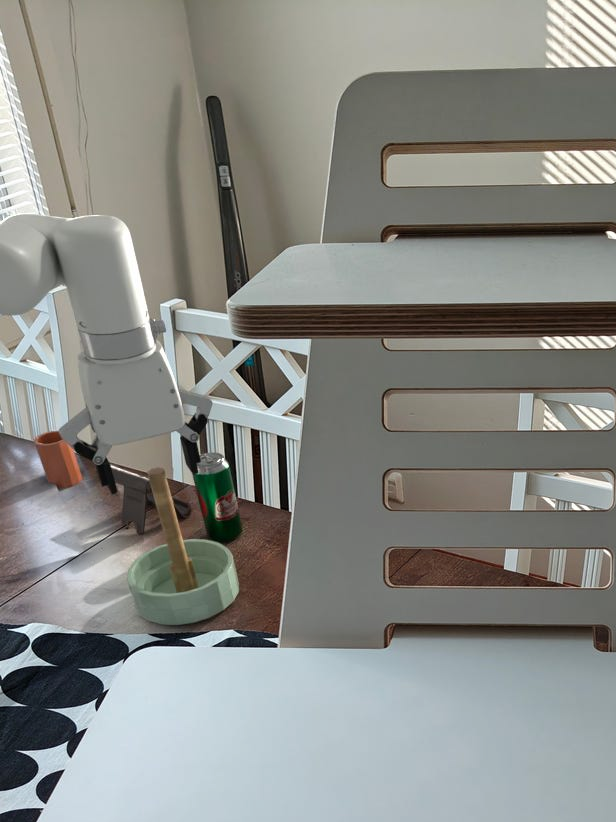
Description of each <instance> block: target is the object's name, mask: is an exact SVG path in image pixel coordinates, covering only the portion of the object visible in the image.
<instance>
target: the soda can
mask: <svg viewBox="0 0 616 822" xmlns="http://www.w3.org/2000/svg"><path fill="white" fill-rule="evenodd" d="M199 455H200V460H201V462H200V463H197V468H198V473H196V474H194V473H192V472H191V475H192V479H193V484H194V488H195V491H196V495H197V499H198V504H199V509H200V512H201V516H202V521H203V524H204V528H205V533H206V536H207V537H208V538H209V540H210V541H214V542H218V543H228V542H231V541H234V540H237V538H239V537H240V535H241V534H242V532H243V529H244V528H243V523H242V519H241V513H240V510H239V505H238V501H237V496H236V491H235V487H234V481H233V478H232V474H231V468H230V463H229V462H228V461H227V459H226V458H225V455H224V454H222V453H220V452H205V453H201V454H199Z"/></svg>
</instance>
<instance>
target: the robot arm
mask: <svg viewBox="0 0 616 822" xmlns="http://www.w3.org/2000/svg"><path fill="white" fill-rule="evenodd" d="M62 285H63V286H65V287H66V290H67V294H68V297H69V301H70V305H71V308H72V313H73V316H74V320H75V324H76V327H77V330H78V334H79V339H80V342H81V345H82V349H83V351H81V352H80V353H79V354H77V365H78V366H77V367H78V374H79V382H80V387H81V392H82V397H83V401H84V406H85V408H83V409H82V410H81V411H79V413H76V415H75V416H73V417H72V418H70V420H68V421H67V422H66V423H65V424H63V425H62V426H61V427H59V429H58V431H59V434H60V436H61V438H62V439H63V440H64V441H65V442H66V443H67V444H68V445H69V446H70V447H72V448H73V450H74V453H75V454H77V455H79V456H81V457H83V458H85V459H87V460H89V461H91V462H93V464H94V466H95V470H96V473H97V476H98V479H99V483H100V485H101V487H106V486H107V487H108V488H107V489H108V490H109V492H110V494H111V495H116V494H117V493H118V492H119V491H118V487H117V483H115V480H114V477H113V473H112V469H111V466H112V465H111V463H110V462H109V460H108V454H109V453H110V451H111V449H112V448H113V446H119V445H124V444H129V443H134V442H138V441H142V440H146V439H150V438H154V437H159V436H163V435H164V436H165V435H167V434H172V433H175V432H177V433H178V434H180V437H179V439H180V444H181V449H182V453H183V457H184V461H185V465H186V467H187V468H188V470H189V471H190V472H191V474H192V473H194V474H196V473H198V468H197V463H200V462H201V460H200V455H201V454H200V451H199V446H198V441H199V439H200V434H202V432H203V430H204V429H205V427H206V426H207V425H208V422H209V420H208V419H209V417H210V413H211V411H212V408H213V400H212V399H211V398H210V397H209V396H208V395H205V394H201V393H198V392H193V391H190V390H185V389H181V388H178V386H177V383H176V379H175V376H174V373H173V370H172V366H171V365H170V361H169V359H168V357H167V354H166V352H165V351H164V347H163V345H162V343H161V342H160V340H158V339H157V338H158V336H159V335H161V334H162V333H163V334H164V333H166V332H167V328H166V323H165V321H164V320H163V319H160V320H156V319H152V318H151V317H150V315H149V311H148V305H147V301H146V296H145V292H144V288H143V283H142V279H141V274H140V270H139V264H138V262H137V256H136V253H135V248H134V243H133V239H132V235H131V231H130V230H129V227H128V226H127V225H126V224H125V222H124V221H123V220H121V218H118V217H115V216H111V215H104V214H103V215H102V214H92V215H82V216H77V217H73V218H69V217H60V216H53V215H45V214H39V213H26V212H25V213H16V214H13V215H10V216H7V217H6V218H4V219H3V220H1V221H0V316H7V317H8V316H9V317H11V316H19V315H23V314H26V313H29V312H30V311H32V310H33V309H35V308H36V307H37V306H38V305H39V304H40V303H41V302H42V301H43V299H44V298H45V297H46V296H47V295H48V294H49V293H50V292H51V291H53V290H54V289H57V288H58V287H60V286H62ZM183 404H185V405H189V406H193V407H196V411H195V413H194V414H193V415H192V417H191V419H189V421H188V422H187V421H186V416H185V411H184V406H183ZM89 425H90V427H91V430H92V432H93V433H95V436H94V438H93V439H92V441H91V443H88V442H86V441H84V440H82V439H80V437H79V436H78V434H79V433H80V432H82V431H83V430H84V429H86V427H88V426H89Z"/></svg>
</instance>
